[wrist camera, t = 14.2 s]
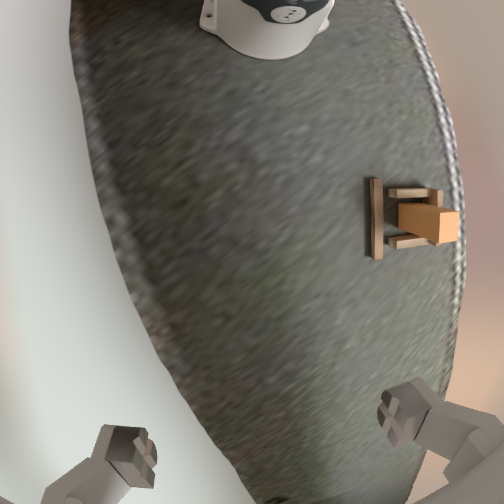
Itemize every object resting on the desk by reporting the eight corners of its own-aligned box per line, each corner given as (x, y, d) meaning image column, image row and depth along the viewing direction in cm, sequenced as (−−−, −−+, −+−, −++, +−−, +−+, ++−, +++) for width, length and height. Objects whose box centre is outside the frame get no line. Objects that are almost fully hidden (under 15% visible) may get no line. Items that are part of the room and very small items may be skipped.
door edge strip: (369, 178, 38) (373, 178, 37) (377, 178, 38) (382, 178, 37) (370, 257, 41) (374, 259, 40) (378, 256, 41) (382, 258, 40)
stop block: (398, 203, 39) (440, 212, 30) (416, 202, 40) (458, 211, 30) (398, 228, 40) (438, 243, 31) (416, 226, 41) (457, 240, 31)
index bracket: (387, 188, 38) (402, 190, 35) (427, 187, 39) (442, 189, 35) (388, 245, 41) (402, 251, 37) (426, 239, 41) (440, 245, 38)
